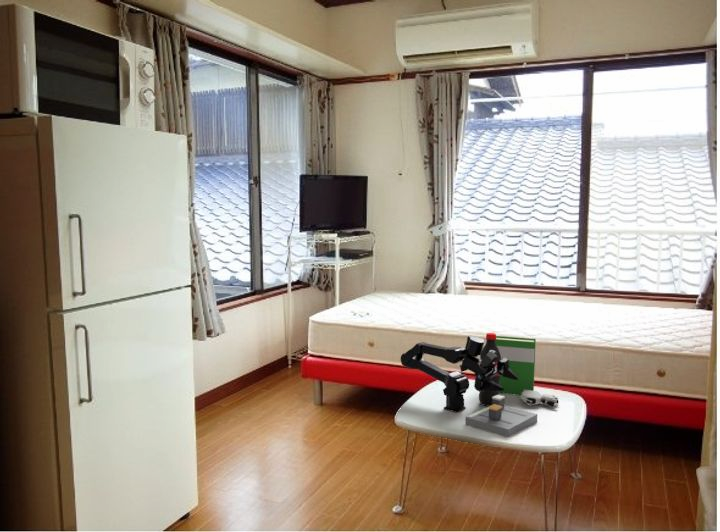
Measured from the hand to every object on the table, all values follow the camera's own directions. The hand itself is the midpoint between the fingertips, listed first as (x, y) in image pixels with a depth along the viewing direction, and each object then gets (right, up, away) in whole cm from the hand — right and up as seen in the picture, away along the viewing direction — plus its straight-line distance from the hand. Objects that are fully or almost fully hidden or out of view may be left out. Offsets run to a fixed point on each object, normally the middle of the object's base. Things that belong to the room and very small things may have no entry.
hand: (510, 384), depth 225 cm
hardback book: (+11, -12, +42) cm, 45 cm away
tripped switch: (-6, -13, -1) cm, 14 cm away
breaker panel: (-3, -16, +3) cm, 16 cm away
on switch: (-2, -12, +11) cm, 16 cm away
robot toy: (+18, -14, +26) cm, 35 cm away
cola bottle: (-3, -13, +25) cm, 29 cm away
